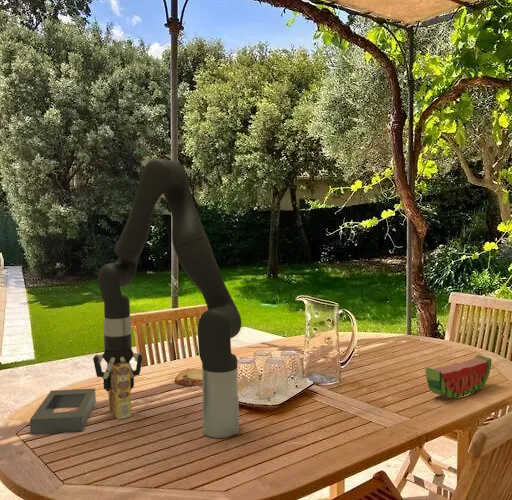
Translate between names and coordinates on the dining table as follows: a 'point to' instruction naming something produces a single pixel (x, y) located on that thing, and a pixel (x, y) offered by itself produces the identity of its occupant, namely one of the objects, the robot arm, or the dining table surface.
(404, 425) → the dining table surface
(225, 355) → the robot arm
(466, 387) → the fruit slice
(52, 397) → the rectangular frame
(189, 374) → the bread slice
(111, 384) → the candy box
